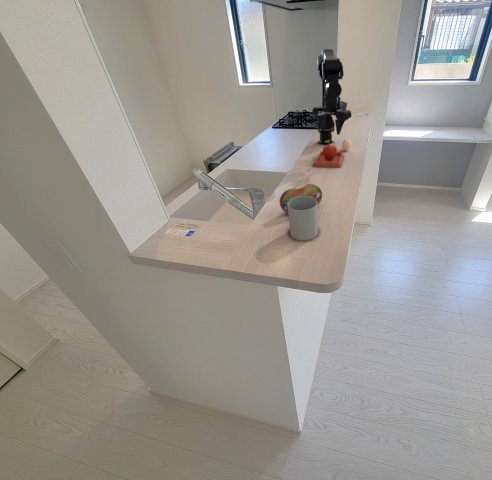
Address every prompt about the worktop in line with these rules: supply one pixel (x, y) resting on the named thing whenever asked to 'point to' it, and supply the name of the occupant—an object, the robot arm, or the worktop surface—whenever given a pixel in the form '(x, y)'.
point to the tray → (323, 162)
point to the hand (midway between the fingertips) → (330, 132)
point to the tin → (300, 194)
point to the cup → (303, 217)
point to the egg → (346, 144)
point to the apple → (329, 151)
